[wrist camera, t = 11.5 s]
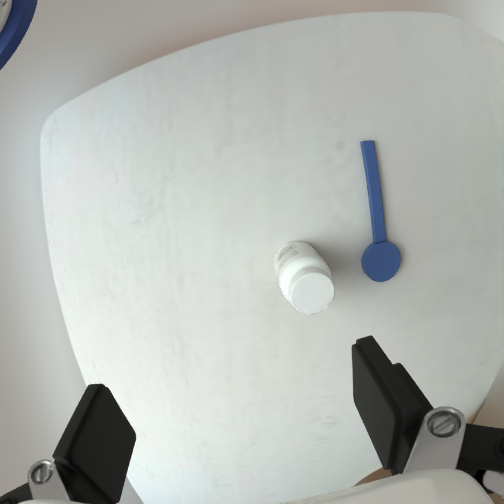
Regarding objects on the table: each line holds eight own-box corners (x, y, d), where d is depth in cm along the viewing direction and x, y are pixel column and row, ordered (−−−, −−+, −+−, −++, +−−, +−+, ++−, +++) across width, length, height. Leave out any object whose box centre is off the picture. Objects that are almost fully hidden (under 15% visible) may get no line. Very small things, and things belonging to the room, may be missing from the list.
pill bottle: (270, 282, 31) (280, 319, 24) (276, 238, 30) (288, 264, 22) (313, 285, 31) (335, 321, 24) (320, 242, 30) (346, 268, 23)
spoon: (345, 143, 28) (348, 143, 27) (384, 139, 27) (388, 138, 27) (362, 282, 32) (366, 286, 31) (397, 274, 31) (401, 277, 31)
